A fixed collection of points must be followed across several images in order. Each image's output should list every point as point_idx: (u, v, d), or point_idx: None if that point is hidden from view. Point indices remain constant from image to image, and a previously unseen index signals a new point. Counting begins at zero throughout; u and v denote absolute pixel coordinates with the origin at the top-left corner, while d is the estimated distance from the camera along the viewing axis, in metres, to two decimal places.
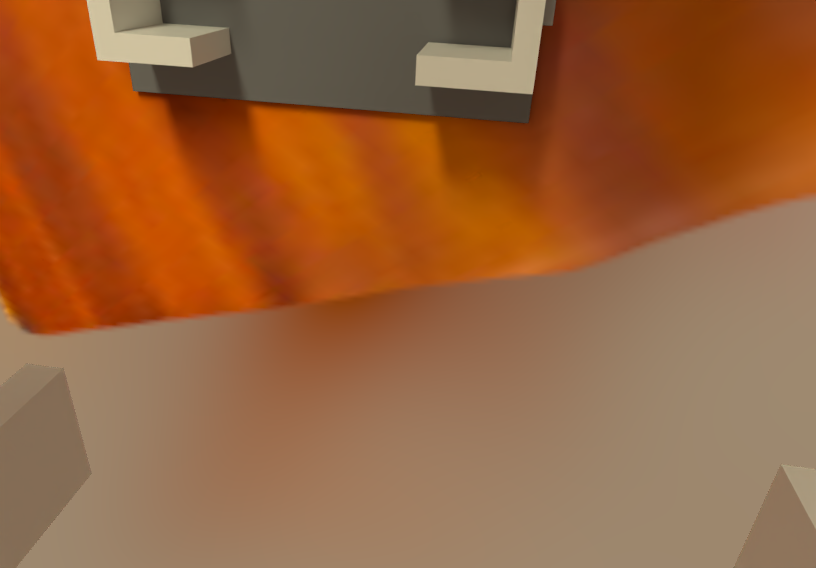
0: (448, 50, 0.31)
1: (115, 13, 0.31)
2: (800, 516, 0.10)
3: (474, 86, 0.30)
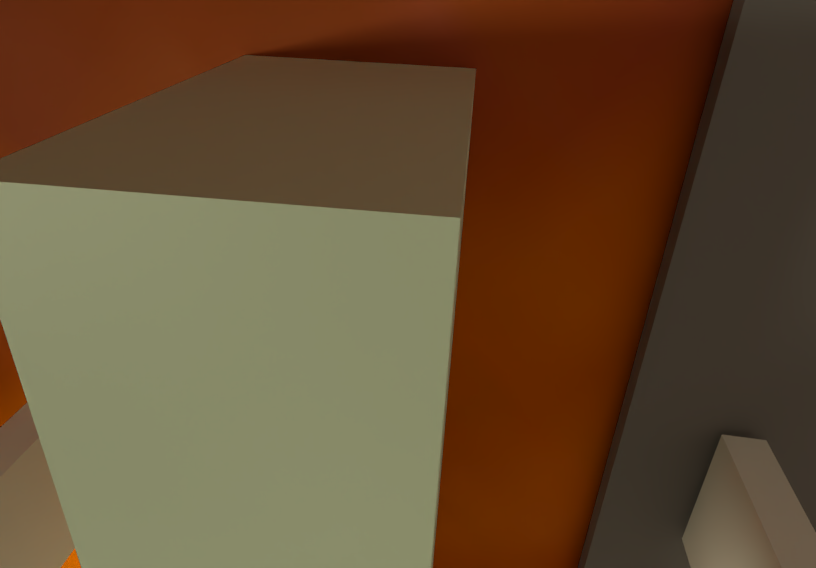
0: None
1: None
2: (736, 482, 0.10)
3: None
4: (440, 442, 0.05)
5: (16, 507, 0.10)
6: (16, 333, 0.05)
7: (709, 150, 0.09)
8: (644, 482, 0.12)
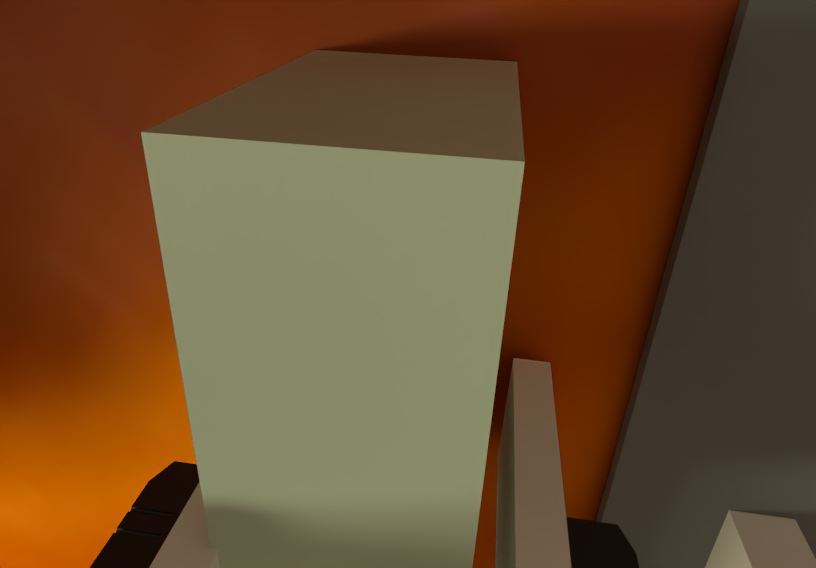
0: None
1: None
2: (512, 393, 0.12)
3: None
4: (499, 347, 0.06)
5: None
6: (171, 256, 0.06)
7: (717, 133, 0.10)
8: (657, 439, 0.13)
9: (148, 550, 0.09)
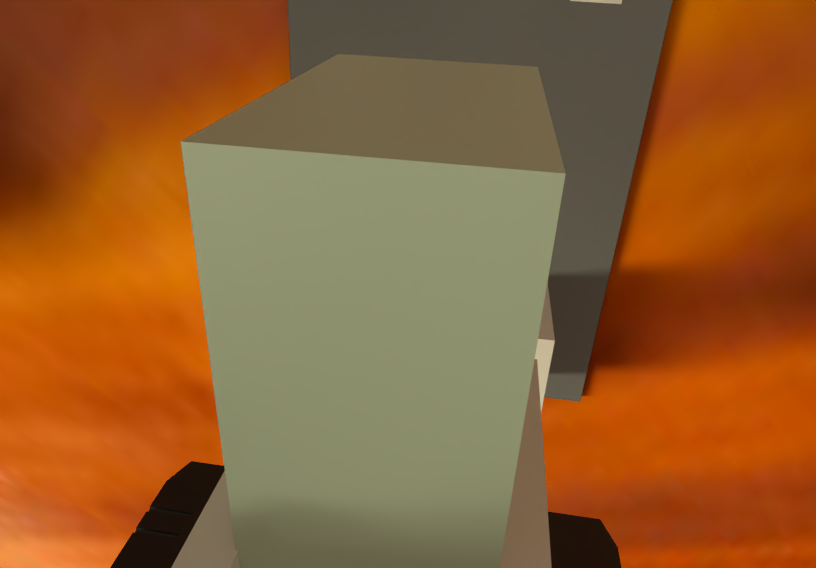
0: None
1: None
2: None
3: None
4: (533, 357, 0.06)
5: None
6: (206, 265, 0.06)
7: (292, 67, 0.25)
8: None
9: (168, 550, 0.09)
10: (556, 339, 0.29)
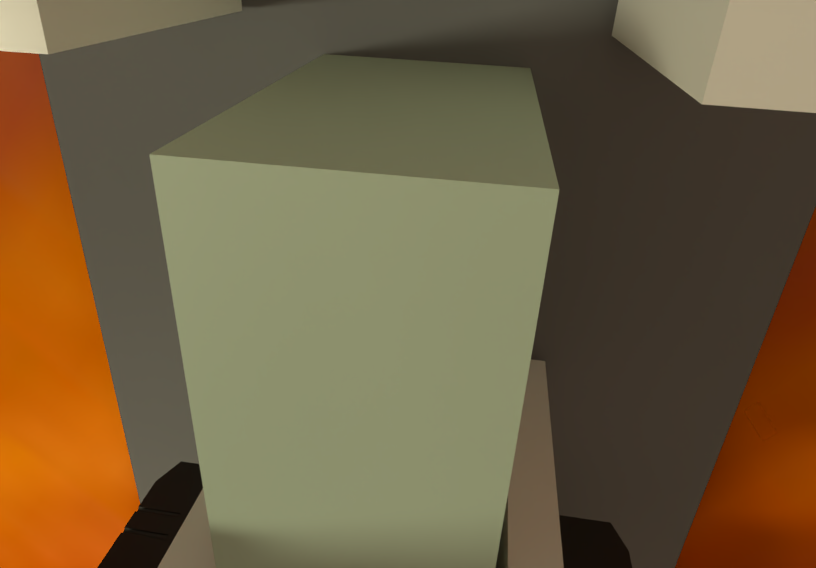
0: None
1: None
2: None
3: None
4: (525, 379, 0.06)
5: None
6: (179, 282, 0.06)
7: (71, 176, 0.12)
8: (147, 427, 0.15)
9: (156, 550, 0.09)
10: None
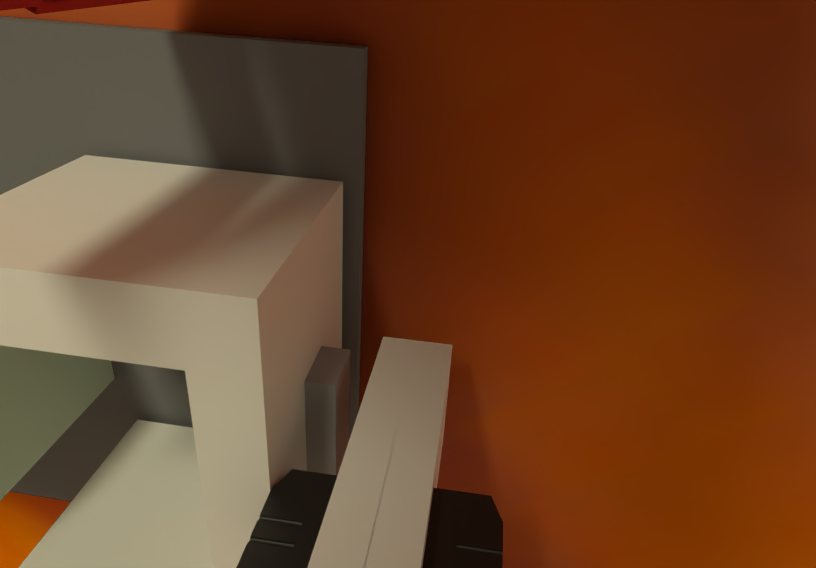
0: (131, 502, 0.14)
1: None
2: (410, 373, 0.12)
3: None
4: None
5: None
6: None
7: None
8: None
9: (287, 559, 0.09)
10: None
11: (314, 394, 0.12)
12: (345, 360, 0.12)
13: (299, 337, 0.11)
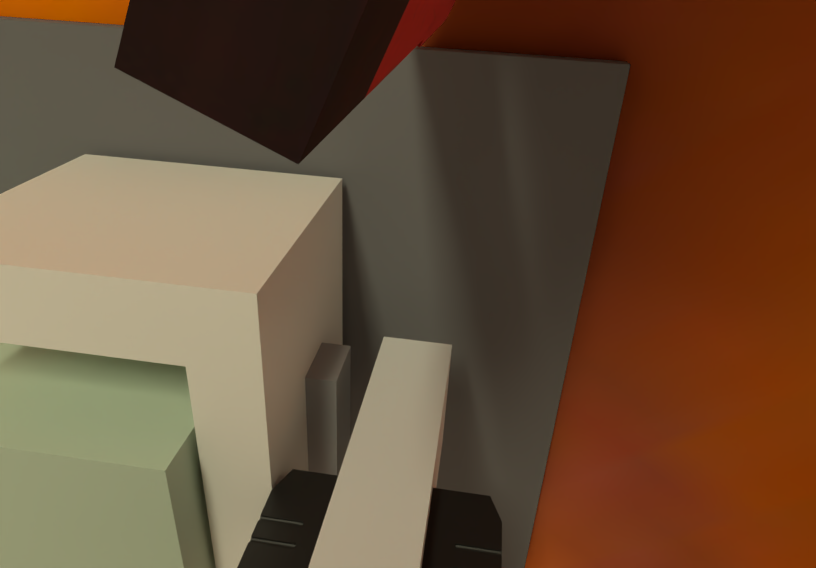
0: None
1: None
2: (410, 373, 0.12)
3: None
4: None
5: None
6: (86, 464, 0.09)
7: None
8: None
9: (287, 559, 0.09)
10: None
11: (314, 390, 0.12)
12: (346, 356, 0.12)
13: (299, 333, 0.11)
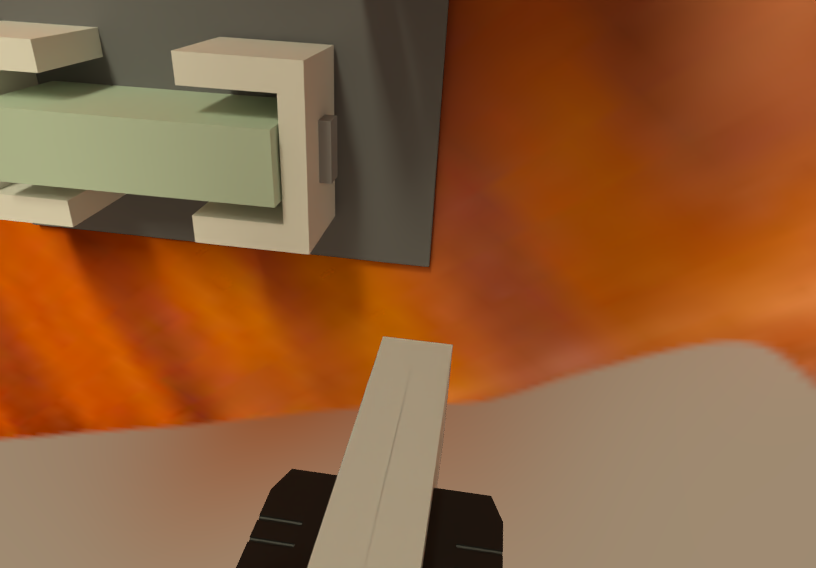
0: None
1: None
2: (411, 373, 0.12)
3: (252, 245, 0.30)
4: (233, 203, 0.28)
5: None
6: (240, 129, 0.26)
7: None
8: None
9: (286, 559, 0.09)
10: None
11: (322, 126, 0.28)
12: (335, 117, 0.29)
13: (316, 96, 0.28)
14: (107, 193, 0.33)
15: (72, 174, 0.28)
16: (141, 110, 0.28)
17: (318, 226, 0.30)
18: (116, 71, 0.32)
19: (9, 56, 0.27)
